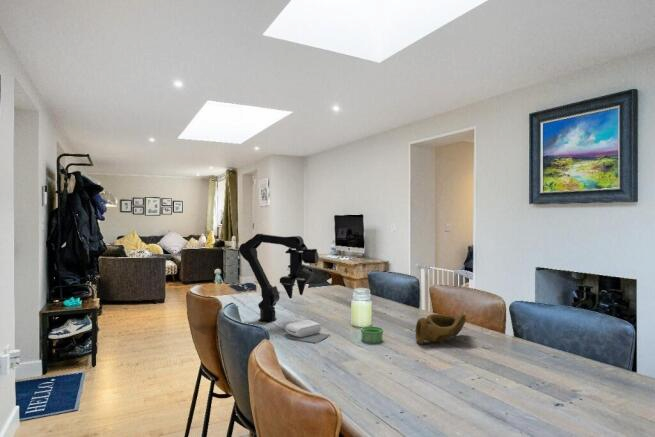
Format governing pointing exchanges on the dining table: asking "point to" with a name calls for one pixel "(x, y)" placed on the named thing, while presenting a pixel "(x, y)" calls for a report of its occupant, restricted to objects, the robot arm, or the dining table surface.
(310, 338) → the mat
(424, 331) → the brown looped sculpture
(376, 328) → the ramekin
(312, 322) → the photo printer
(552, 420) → the dining table surface
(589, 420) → the dining table surface
